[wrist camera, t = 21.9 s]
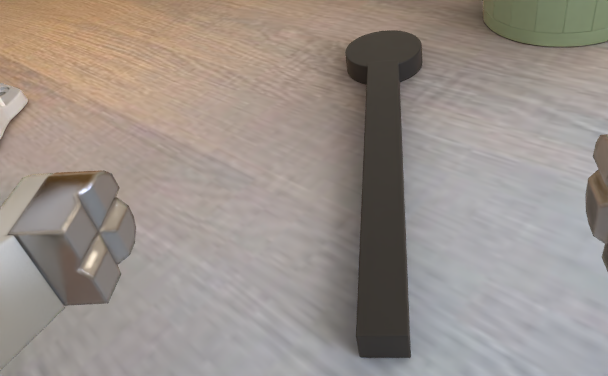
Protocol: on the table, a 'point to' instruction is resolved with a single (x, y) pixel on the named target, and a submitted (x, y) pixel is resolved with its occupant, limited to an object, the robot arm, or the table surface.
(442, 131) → the table surface
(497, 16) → the crock
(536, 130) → the table surface
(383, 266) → the serving spoon
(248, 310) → the table surface
